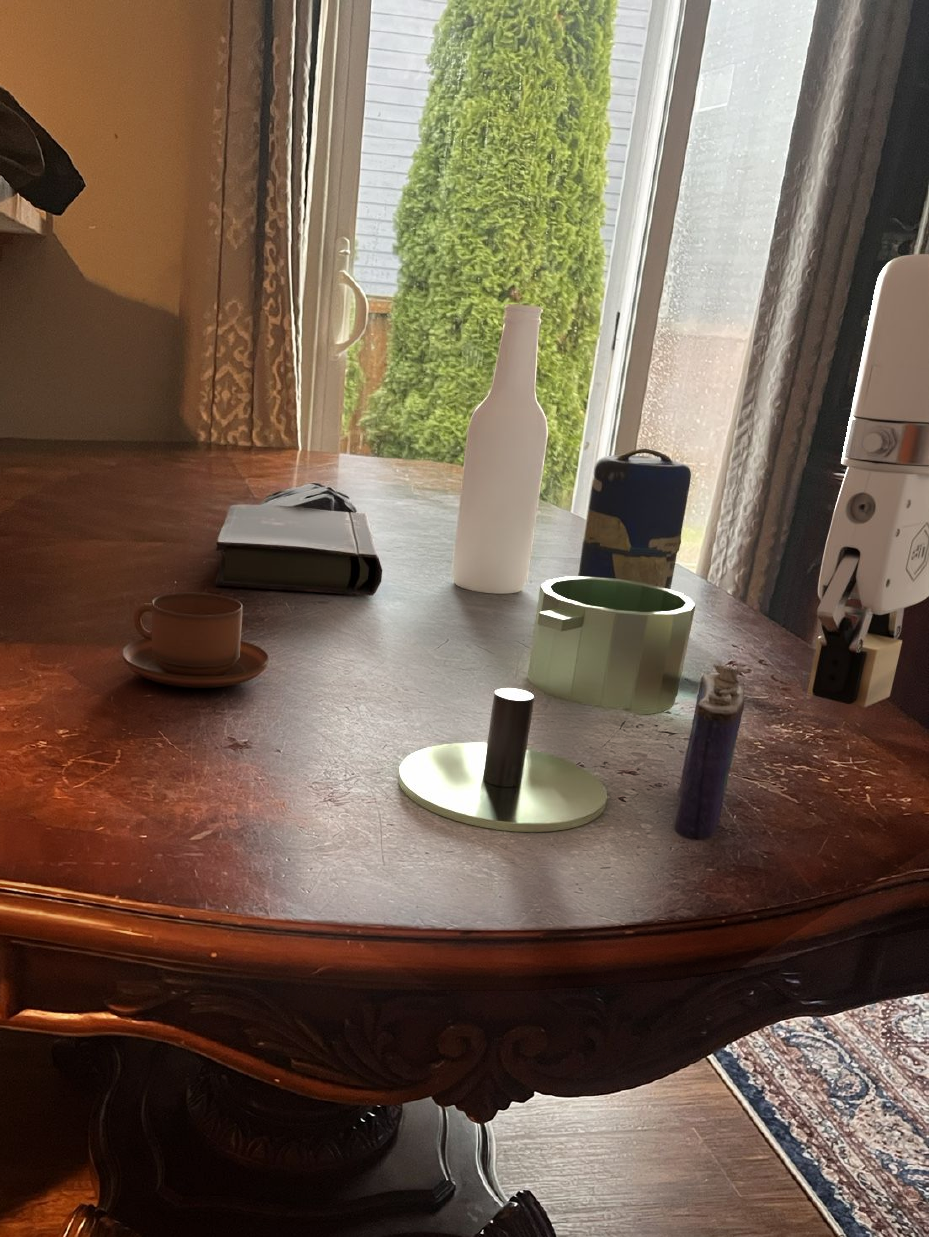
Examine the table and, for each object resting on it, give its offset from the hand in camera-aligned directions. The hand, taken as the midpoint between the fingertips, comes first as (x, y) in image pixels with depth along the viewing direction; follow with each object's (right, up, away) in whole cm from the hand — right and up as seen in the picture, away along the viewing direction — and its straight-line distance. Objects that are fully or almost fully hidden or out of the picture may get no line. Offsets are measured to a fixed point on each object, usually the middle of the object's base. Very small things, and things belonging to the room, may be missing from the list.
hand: (849, 690), depth 90 cm
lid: (-29, -8, -12) cm, 32 cm away
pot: (-17, +1, +11) cm, 20 cm away
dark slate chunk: (-43, +32, +77) cm, 94 cm away
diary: (-44, +19, +47) cm, 67 cm away
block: (0, 0, 0) cm, 0 cm away
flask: (-16, -10, -13) cm, 23 cm away
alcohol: (-21, +17, +46) cm, 53 cm away
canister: (-10, +10, +32) cm, 35 cm away
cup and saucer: (-51, +2, +7) cm, 52 cm away
